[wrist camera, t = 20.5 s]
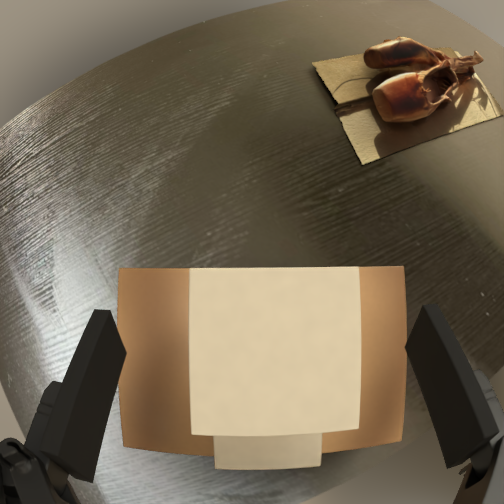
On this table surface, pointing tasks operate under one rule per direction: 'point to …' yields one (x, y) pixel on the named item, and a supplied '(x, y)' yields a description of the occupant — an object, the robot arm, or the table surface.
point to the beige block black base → (273, 362)
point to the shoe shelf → (177, 362)
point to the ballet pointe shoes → (405, 95)
